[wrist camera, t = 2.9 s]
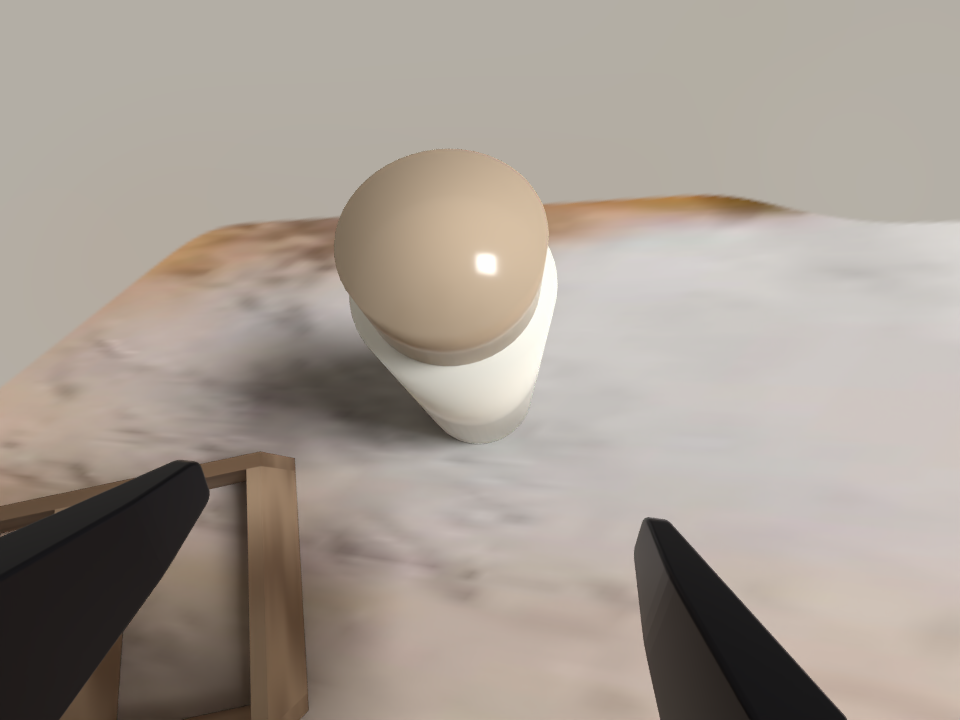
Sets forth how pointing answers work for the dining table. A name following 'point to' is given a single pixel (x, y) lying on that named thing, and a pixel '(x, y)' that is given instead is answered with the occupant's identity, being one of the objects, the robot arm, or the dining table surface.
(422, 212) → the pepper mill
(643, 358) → the dining table surface
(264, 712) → the walnut caddy
